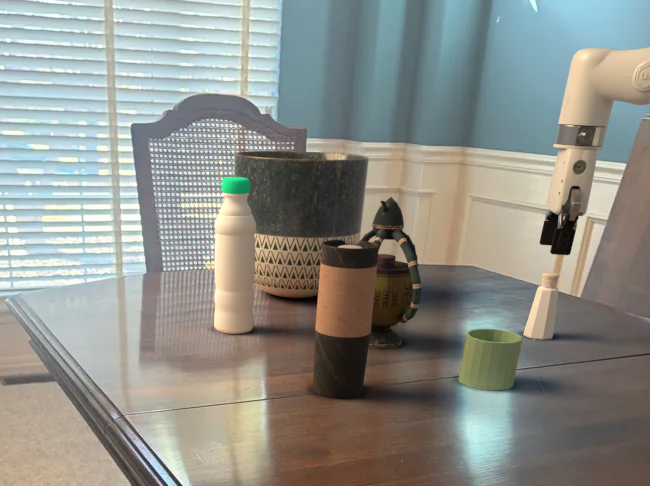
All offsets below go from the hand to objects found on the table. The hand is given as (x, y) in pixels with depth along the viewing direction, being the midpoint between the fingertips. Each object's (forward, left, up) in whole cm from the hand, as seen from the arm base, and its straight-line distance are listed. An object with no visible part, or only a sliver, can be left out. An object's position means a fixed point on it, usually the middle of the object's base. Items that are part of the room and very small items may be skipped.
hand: (553, 249), depth 133 cm
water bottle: (+55, +9, -15) cm, 57 cm away
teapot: (+30, +7, -15) cm, 34 cm away
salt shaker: (0, 0, -15) cm, 15 cm away
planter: (+47, -23, -15) cm, 54 cm away
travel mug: (+35, +39, -15) cm, 54 cm away
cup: (+13, +30, -15) cm, 36 cm away
